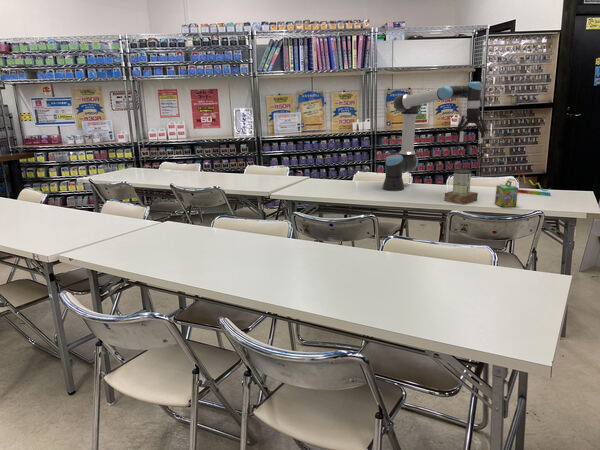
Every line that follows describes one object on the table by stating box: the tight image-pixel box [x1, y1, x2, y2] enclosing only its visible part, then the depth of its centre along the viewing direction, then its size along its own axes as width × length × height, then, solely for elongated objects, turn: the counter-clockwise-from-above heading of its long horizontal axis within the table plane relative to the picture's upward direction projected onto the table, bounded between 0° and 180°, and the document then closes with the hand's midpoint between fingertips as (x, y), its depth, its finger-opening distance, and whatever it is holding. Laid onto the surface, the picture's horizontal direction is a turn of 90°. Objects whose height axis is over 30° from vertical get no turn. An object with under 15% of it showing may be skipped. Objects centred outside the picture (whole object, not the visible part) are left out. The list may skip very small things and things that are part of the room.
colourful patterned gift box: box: [494, 180, 519, 208], centre depth 277 cm, size 9×9×15 cm
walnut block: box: [444, 190, 479, 205], centre depth 292 cm, size 14×14×5 cm
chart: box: [500, 170, 551, 197], centre depth 306 cm, size 30×3×15 cm, turn 50°
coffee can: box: [452, 168, 472, 195], centre depth 290 cm, size 10×10×14 cm
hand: (470, 142), depth 294 cm, fingers open, 13 cm apart
